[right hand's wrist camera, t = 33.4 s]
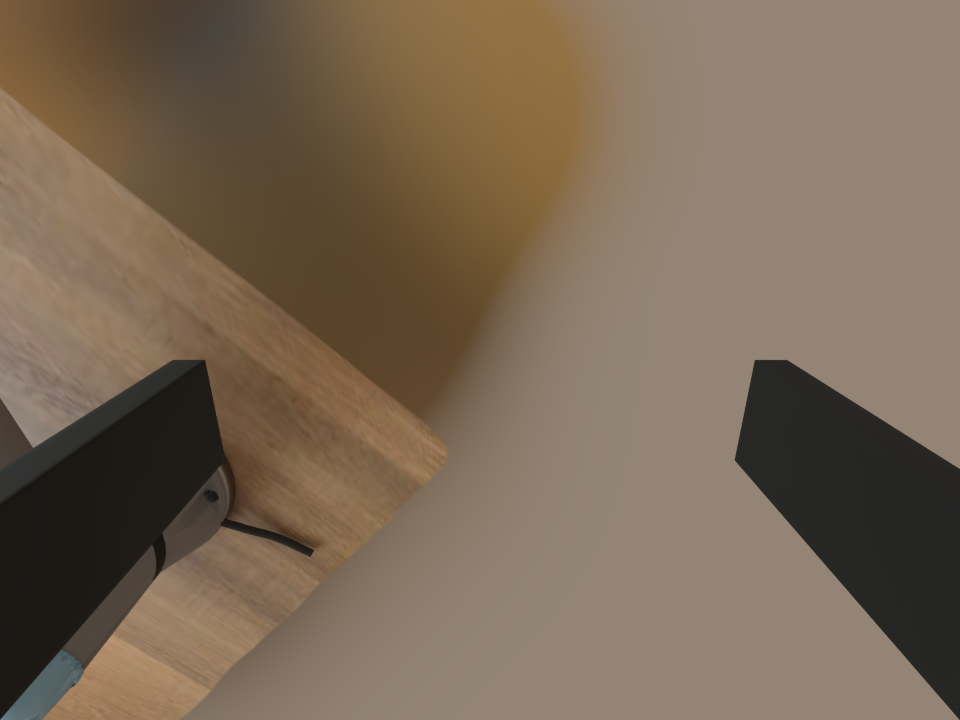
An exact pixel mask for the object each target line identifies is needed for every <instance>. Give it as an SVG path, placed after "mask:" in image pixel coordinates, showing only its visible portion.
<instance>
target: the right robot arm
mask: <svg viewBox="0 0 960 720" xmlns="http://www.w3.org/2000/svg"><path fill="white" fill-rule="evenodd" d="M735 461H736V462H737V463H738V465H739V466H740V467H741V468H742V469H743V470H744V471H745V473H746V474H747V475H748V476H749V477H750V478H751V479H752V481H753V482H754V483H755V484H756V485H757V486H758V488H759V489H760V490H761V491H762V492H763V493H764V495H765V496H766V497H767V498H768V499H769V500H770V501H771V503H772V504H773V505H774V506H775V507H776V508H777V510H778V511H779V512H780V513H781V514H782V515H783V516H784V518H785V519H786V520H787V521H788V522H789V523H790V525H791V526H792V527H793V528H794V529H795V530H796V531H797V533H798V534H799V535H800V536H801V537H802V538H803V540H804V541H805V542H806V543H807V544H808V545H809V546H810V548H811V549H812V550H813V551H814V552H815V553H816V555H817V556H818V557H819V558H820V559H821V560H822V561H823V563H824V564H825V565H826V566H827V567H828V568H829V570H830V571H831V572H832V573H833V574H834V575H835V576H836V578H837V579H838V580H839V581H840V582H841V583H842V585H843V586H844V587H845V588H846V589H847V590H848V591H849V593H850V594H851V595H852V596H853V597H854V598H855V600H856V601H857V602H858V603H859V604H860V605H861V606H862V608H863V609H864V610H865V611H866V612H867V613H868V615H869V616H870V617H871V618H872V619H873V620H874V621H875V623H876V624H877V625H878V626H879V627H880V628H881V630H882V631H883V632H884V633H885V634H886V635H887V636H888V638H889V639H890V640H891V641H892V642H893V643H894V645H895V646H896V647H897V648H898V649H899V650H900V651H901V653H902V654H903V655H904V656H905V657H906V658H907V660H908V661H909V662H910V663H911V664H912V665H913V667H914V668H915V669H916V670H917V671H918V672H919V673H920V675H921V676H922V677H923V678H924V679H925V680H926V682H927V683H928V684H929V685H930V686H931V687H932V688H933V690H934V691H935V692H936V693H937V694H938V695H939V697H940V698H941V699H942V700H943V701H944V702H945V703H946V705H947V706H948V707H949V708H950V709H951V710H952V712H953V713H954V714H955V715H956V716H957V717H958V718H959V720H960V469H959V468H957V467H956V466H954V465H952V464H951V463H949V462H948V461H946V460H944V459H943V458H941V457H940V456H938V455H937V454H935V453H933V452H932V451H930V450H929V449H927V448H925V447H924V446H922V445H921V444H919V443H918V442H916V441H914V440H913V439H911V438H910V437H908V436H907V435H905V434H903V433H902V432H900V431H899V430H897V429H895V428H894V427H892V426H891V425H889V424H887V423H886V422H884V421H883V420H881V419H880V418H878V417H876V416H875V415H873V414H872V413H870V412H869V411H867V410H865V409H864V408H862V407H861V406H859V405H857V404H856V403H854V402H853V401H851V400H850V399H848V398H846V397H845V396H843V395H841V394H840V393H838V392H837V391H835V390H834V389H832V388H830V387H829V386H827V385H826V384H824V383H823V382H821V381H819V380H818V379H816V378H815V377H813V376H811V375H810V374H808V373H807V372H805V371H804V370H802V369H800V368H799V367H797V366H796V365H794V364H792V363H791V362H789V361H788V360H755V362H754V367H753V372H752V377H751V382H750V387H749V392H748V397H747V402H746V407H745V412H744V417H743V422H742V427H741V432H740V437H739V442H738V447H737V452H736V457H735ZM234 495H235V486H234V479H233V475H232V472H231V469H230V467H229V465H228V462H227V460H226V459H225V457H224V452H223V447H222V442H221V437H220V432H219V427H218V422H217V417H216V412H215V407H214V402H213V397H212V392H211V387H210V382H209V377H208V372H207V367H206V362H205V360H172V361H171V362H169V363H168V364H166V365H164V366H163V367H161V368H160V369H158V370H156V371H155V372H153V373H152V374H150V375H149V376H147V377H145V378H144V379H142V380H141V381H139V382H137V383H136V384H134V385H133V386H131V387H130V388H128V389H126V390H125V391H123V392H122V393H120V394H118V395H117V396H115V397H114V398H112V399H110V400H109V401H107V402H106V403H104V404H103V405H101V406H99V407H98V408H96V409H95V410H93V411H91V412H90V413H88V414H87V415H85V416H84V417H82V418H80V419H79V420H77V421H76V422H74V423H72V424H71V425H69V426H68V427H66V428H65V429H63V430H61V431H60V432H58V433H57V434H55V435H53V436H52V437H50V438H49V439H47V440H46V441H44V442H42V443H41V444H39V445H38V446H36V447H34V448H33V447H32V446H31V444H30V443H29V441H28V440H27V438H26V437H25V435H24V434H23V432H22V431H21V429H20V428H19V426H18V424H17V423H16V421H15V420H14V418H13V417H12V415H11V414H10V412H9V411H8V409H7V408H6V406H5V405H4V403H3V402H2V400H1V399H0V720H42V719H43V718H44V717H45V716H46V715H47V714H48V712H49V711H50V710H51V709H52V708H53V707H54V706H55V705H56V704H57V702H58V701H59V700H60V699H61V698H62V697H63V696H64V695H65V694H66V692H67V691H68V690H69V689H70V688H72V687H73V686H74V685H75V684H76V683H77V682H79V680H80V679H81V676H82V674H83V673H84V670H85V668H86V667H87V666H88V665H89V663H90V662H91V661H92V659H93V658H94V657H95V656H96V654H97V653H98V652H99V650H100V649H101V648H102V647H103V645H104V644H105V643H106V641H107V640H108V639H109V638H110V636H111V635H112V634H113V632H114V631H115V630H116V629H117V627H118V626H119V625H120V623H121V622H122V621H123V620H124V618H125V617H126V616H127V614H128V613H129V612H130V611H131V609H132V608H133V607H134V605H135V604H136V603H137V602H138V600H139V599H140V598H141V596H142V595H143V594H144V593H145V591H146V590H147V589H148V587H149V586H150V585H151V583H152V582H153V581H154V579H155V578H156V577H157V576H158V575H159V573H160V572H162V571H163V570H165V569H166V568H168V567H169V566H171V565H172V564H174V563H175V562H177V561H178V560H180V559H182V558H183V557H185V556H186V555H188V554H189V553H191V552H192V551H194V550H195V549H197V548H198V547H200V546H201V545H203V544H204V543H205V542H207V541H208V540H209V539H210V538H211V537H213V535H214V534H215V533H216V532H217V531H218V529H219V528H220V527H221V526H223V527H227V528H230V529H234V530H237V531H240V532H244V533H247V534H251V535H255V536H259V537H263V538H267V539H270V540H273V541H276V542H279V543H281V544H284V545H286V546H288V547H290V548H293V549H295V550H297V551H299V552H301V553H303V554H305V555H307V556H309V557H311V555H312V553H313V551H314V550H313V549H310V548H308V547H306V546H304V545H302V544H300V543H298V542H296V541H294V540H292V539H289V538H287V537H285V536H282V535H280V534H277V533H274V532H271V531H267V530H263V529H259V528H255V527H252V526H248V525H245V524H241V523H238V522H235V521H231V520H228V519H226V518H227V517H228V515H229V513H230V511H231V509H232V506H233V502H234Z"/></svg>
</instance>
